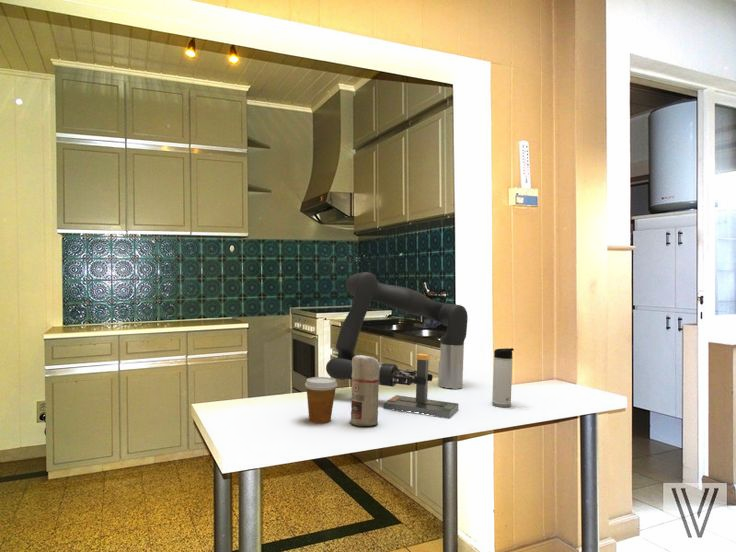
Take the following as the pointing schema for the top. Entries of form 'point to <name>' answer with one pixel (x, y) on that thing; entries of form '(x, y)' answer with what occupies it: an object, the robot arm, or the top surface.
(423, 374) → the lever
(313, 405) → the disposable coffee cup
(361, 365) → the spray can
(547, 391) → the top surface
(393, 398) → the switch base
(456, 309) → the robot arm
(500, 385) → the travel mug
